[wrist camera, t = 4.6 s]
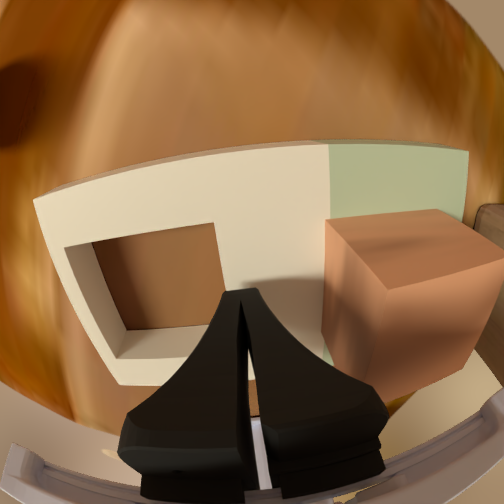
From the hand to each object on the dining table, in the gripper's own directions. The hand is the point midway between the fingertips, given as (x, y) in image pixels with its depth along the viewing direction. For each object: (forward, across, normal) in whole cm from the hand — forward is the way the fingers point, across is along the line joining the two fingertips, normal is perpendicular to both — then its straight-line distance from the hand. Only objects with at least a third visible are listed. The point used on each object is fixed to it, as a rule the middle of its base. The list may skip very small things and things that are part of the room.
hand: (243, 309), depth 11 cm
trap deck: (+3, -2, 0) cm, 4 cm away
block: (+1, -7, 0) cm, 7 cm away
